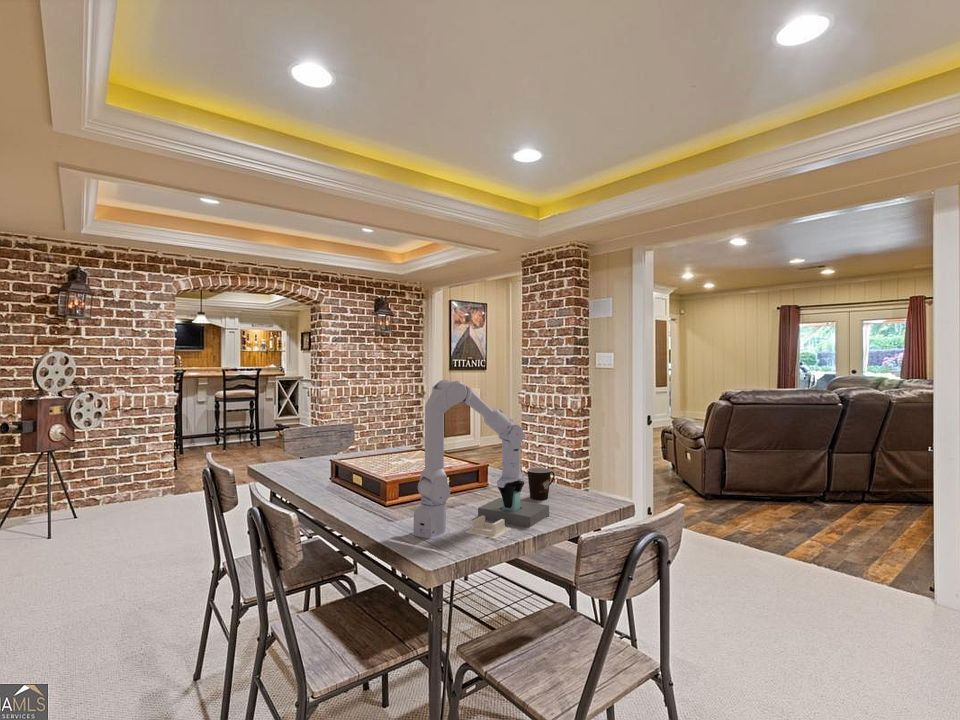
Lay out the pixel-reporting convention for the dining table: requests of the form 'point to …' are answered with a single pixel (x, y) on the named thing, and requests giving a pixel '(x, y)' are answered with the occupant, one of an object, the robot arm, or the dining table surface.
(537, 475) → the coffee mug
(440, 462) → the robot arm
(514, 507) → the plug
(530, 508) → the block
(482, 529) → the beige square holder
